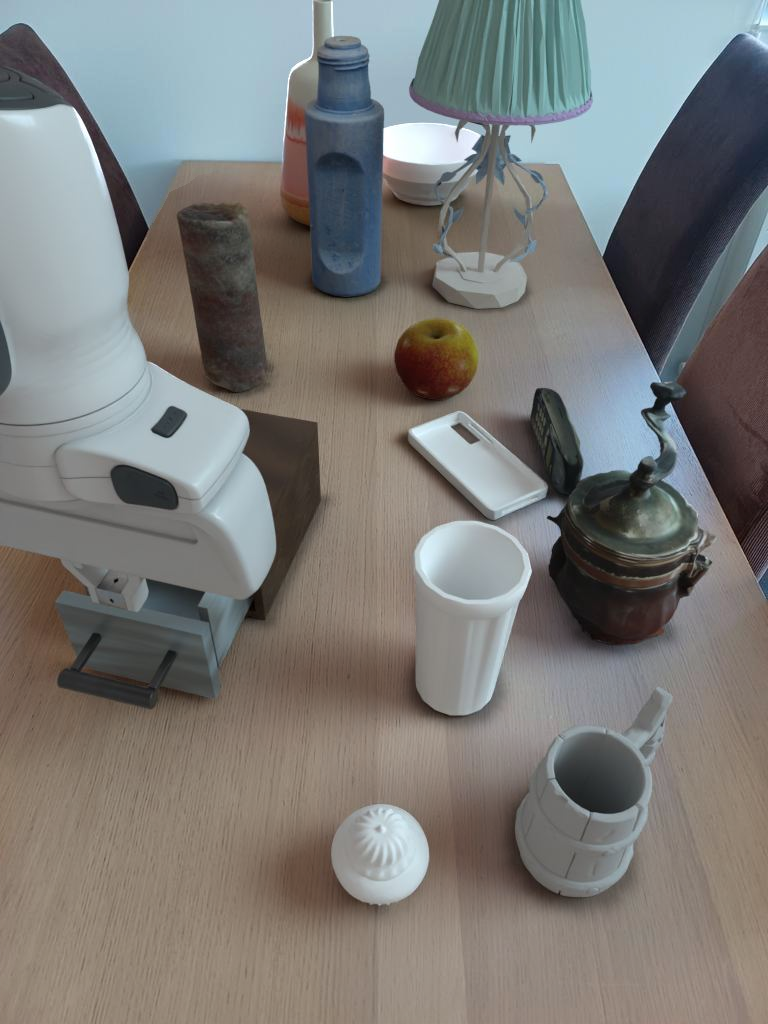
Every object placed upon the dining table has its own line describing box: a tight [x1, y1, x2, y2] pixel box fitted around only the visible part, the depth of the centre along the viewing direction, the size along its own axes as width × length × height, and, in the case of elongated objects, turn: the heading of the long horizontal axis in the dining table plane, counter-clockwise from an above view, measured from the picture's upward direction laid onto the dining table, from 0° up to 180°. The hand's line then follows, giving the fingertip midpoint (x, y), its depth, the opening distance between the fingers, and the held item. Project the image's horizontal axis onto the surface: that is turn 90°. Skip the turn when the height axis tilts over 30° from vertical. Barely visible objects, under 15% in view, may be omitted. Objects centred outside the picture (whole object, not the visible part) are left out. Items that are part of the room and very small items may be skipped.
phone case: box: [407, 410, 549, 521], centre depth 83 cm, size 7×1×15 cm
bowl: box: [383, 122, 481, 207], centre depth 133 cm, size 19×20×8 cm
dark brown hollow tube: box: [176, 202, 269, 393], centre depth 88 cm, size 8×7×20 cm
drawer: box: [54, 578, 254, 711], centre depth 63 cm, size 19×11×8 cm, turn 166°
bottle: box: [305, 35, 385, 298], centre depth 102 cm, size 10×10×30 cm
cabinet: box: [239, 408, 322, 620], centre depth 71 cm, size 16×13×10 cm
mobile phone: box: [529, 387, 584, 496], centre depth 83 cm, size 5×3×15 cm
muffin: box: [330, 803, 430, 907], centre depth 50 cm, size 6×6×7 cm
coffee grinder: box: [546, 381, 717, 645], centre depth 65 cm, size 13×15×18 cm
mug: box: [514, 686, 673, 898], centre depth 51 cm, size 8×12×12 cm, turn 133°
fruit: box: [393, 318, 479, 401], centre depth 91 cm, size 10×9×8 cm
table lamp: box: [408, 0, 594, 310], centre depth 98 cm, size 22×22×40 cm
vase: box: [279, 0, 334, 227], centre depth 118 cm, size 14×14×30 cm
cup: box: [411, 520, 533, 716], centre depth 59 cm, size 8×8×14 cm
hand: (121, 600), depth 50 cm, fingers closed
